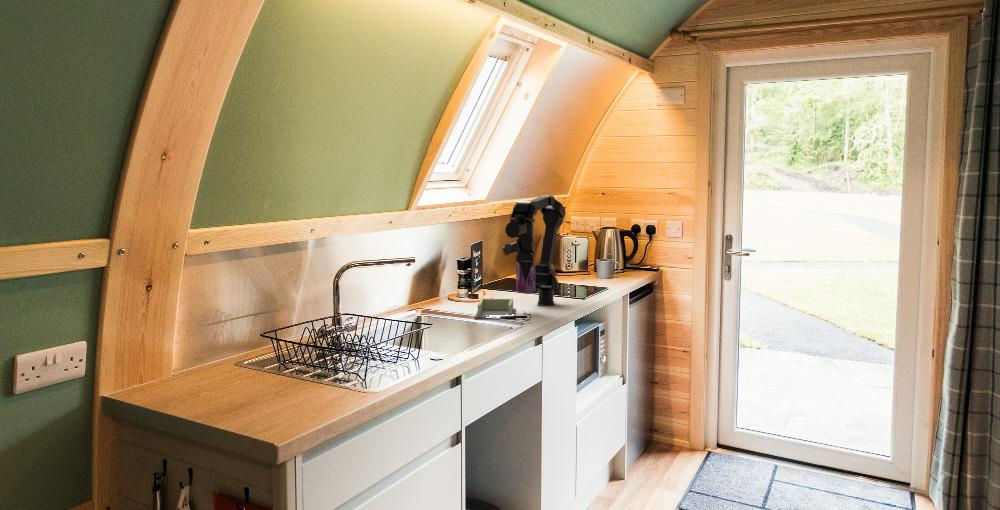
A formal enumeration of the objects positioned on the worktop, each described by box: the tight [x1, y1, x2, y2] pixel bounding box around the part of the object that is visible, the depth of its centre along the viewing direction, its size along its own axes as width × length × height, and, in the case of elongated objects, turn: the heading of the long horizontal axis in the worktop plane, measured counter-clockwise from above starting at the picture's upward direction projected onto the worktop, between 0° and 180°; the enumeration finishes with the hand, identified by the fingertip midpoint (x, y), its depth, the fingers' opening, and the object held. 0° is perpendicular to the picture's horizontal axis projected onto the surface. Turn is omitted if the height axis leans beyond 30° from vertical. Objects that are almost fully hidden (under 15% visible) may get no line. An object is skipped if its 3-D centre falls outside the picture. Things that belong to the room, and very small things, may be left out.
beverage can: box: [515, 260, 536, 295], centre depth 288 cm, size 7×7×12 cm
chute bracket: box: [474, 298, 517, 320], centre depth 286 cm, size 15×14×5 cm
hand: (525, 277), depth 288 cm, fingers closed on beverage can, 7 cm apart
